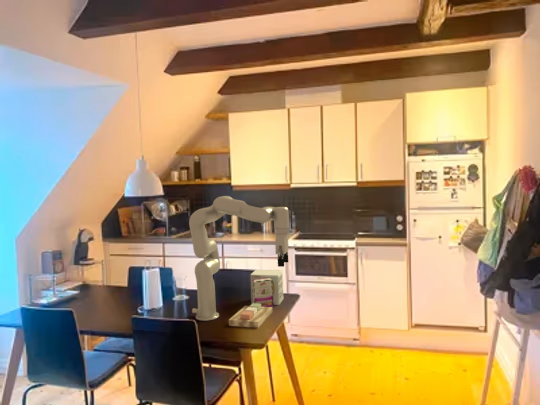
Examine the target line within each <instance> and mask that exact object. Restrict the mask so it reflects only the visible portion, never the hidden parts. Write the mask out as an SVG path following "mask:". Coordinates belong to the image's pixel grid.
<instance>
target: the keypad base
mask: <svg viewBox="0 0 540 405" xmlns="http://www.w3.org/2000/svg"><path fill="white" fill-rule="evenodd" d="M248 307H250V305H244V306H243V307H242V308H241V309H239V310H238V311H237V312H236V313H235V314H233V315H232V316H231V317H230V318H229V319H228V326H230V327H245V328H255V329H257V328H258V329H259V328H260V326H261V325H263V323H264V322H265V321H266V320H267V319H268V318H269V317H270V316H271V315H272V314H273V307H261V310H260V311H257V314H256V315H255V316H254V315H253V318H252V319H251V320H243V319H240V314H241V313H242V312H243V311H245V310H246V309H247V308H248Z"/></svg>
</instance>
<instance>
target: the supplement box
mask: <svg viewBox="0 0 540 405" xmlns="http://www.w3.org/2000/svg"><path fill="white" fill-rule="evenodd" d="M265 278H271V279H272V288H273V306H280V305H281V303H282V302H283V300H284V285H283V284H284V283H283V282H284V279H283V270H282V269H281V270H280V269H255V270H253V272H252V273H251V274H250V298H251V299H250V301H251V303H250V305H251V304H252V303H253V290H252V280H257V279H265Z"/></svg>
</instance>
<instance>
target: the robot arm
mask: <svg viewBox="0 0 540 405" xmlns="http://www.w3.org/2000/svg"><path fill="white" fill-rule="evenodd" d="M289 212H290V211H289V208H288V207H286V206H276V207H275V206H264V207H257V206H252V205H249V204H247V203H246V202H245V201H244V200H240V199H235V198H233V197H231V196H230V195H223V196H218V197H216V198H215V199H214V200H213V203H212V204H211V205H210V206H208V207H207V206H206V207H201V208H199V209H197V210H195V211H194V212H193V213H192V214H191V215H190V217H189V223H188V225H189V230H190V234H191V240H192V241H191V242H192V249H193V252H194V253H193V254H194V256H196V258H198V259H202V260H200V261H199V262H197V264H195V267H194V275H195V281H196V289H197V290H196V292H197V295H196V296H197V308H192V309H191V312H192V314H195V319H196V320H198V321H201V322H202V321H204V322H205V321H213V320H216V319H217V318H219V317H220V313H219V312H217V307H216V305H217V304H216V289H215V288H216V287H215V286H216V285H215V280H214V278H213V275H214V274H216V273H217V272H219V271H220V268H221V261H220V254H219V248H218V244H217V243H216V241H215V240H214V239H213V238H210V237H209V236H208V231H207V229H206V226H205V225H206V224H210V223H214V222H216V221H217V220H219V219H220V218H222V217H224V216H225V215H231V216H235V217H237V218H241V219H244V220H245V221H246V220H247V221H250V222H255V223H260V224H265V223H268V222H271V221H273V226H274V227H273V228H274V235H275V245H274V246H275V254H276V255H277V267H278V268H279V267H280V268H281V267H282V268H283V267H285V263H289V237H288V236H289V235H290V218H289V217H290V216H289V215H290V214H289Z"/></svg>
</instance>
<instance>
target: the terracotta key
mask: <svg viewBox="0 0 540 405" xmlns="http://www.w3.org/2000/svg"><path fill="white" fill-rule="evenodd" d="M252 318H253V312H249V311H243V312H242V313H241V314H240V319H243V320H251V319H252Z"/></svg>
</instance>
